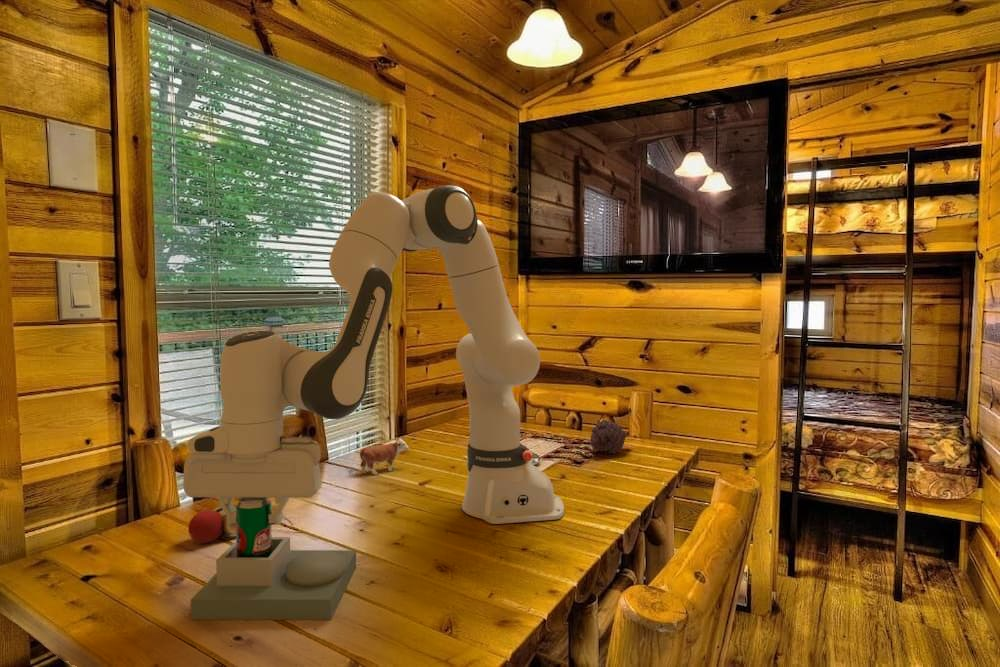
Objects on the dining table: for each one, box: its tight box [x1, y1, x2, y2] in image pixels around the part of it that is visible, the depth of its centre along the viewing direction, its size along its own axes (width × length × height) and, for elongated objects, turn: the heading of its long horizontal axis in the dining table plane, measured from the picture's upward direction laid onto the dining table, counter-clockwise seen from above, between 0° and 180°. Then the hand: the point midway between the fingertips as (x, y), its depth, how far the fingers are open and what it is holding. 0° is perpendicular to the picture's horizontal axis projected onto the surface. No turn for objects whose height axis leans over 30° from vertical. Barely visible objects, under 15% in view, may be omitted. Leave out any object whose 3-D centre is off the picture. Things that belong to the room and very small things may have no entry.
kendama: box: [188, 504, 279, 545], centre depth 114 cm, size 8×6×18 cm
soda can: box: [235, 497, 273, 558], centre depth 91 cm, size 5×5×12 cm
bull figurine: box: [359, 438, 409, 475], centre depth 153 cm, size 4×13×8 cm, turn 124°
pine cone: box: [589, 419, 630, 454], centre depth 172 cm, size 18×10×10 cm, turn 139°
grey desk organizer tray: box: [190, 536, 357, 621], centre depth 91 cm, size 20×16×7 cm
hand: (254, 523), depth 91 cm, fingers closed on soda can, 5 cm apart
